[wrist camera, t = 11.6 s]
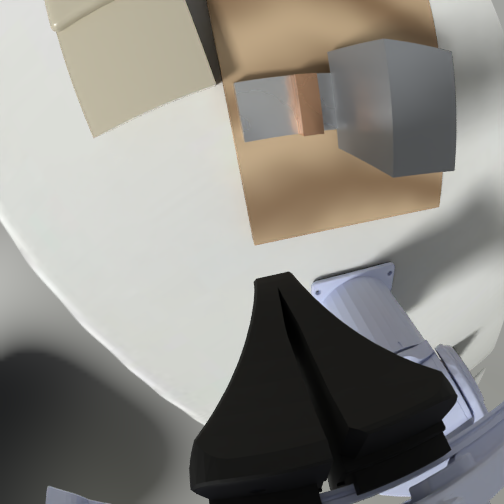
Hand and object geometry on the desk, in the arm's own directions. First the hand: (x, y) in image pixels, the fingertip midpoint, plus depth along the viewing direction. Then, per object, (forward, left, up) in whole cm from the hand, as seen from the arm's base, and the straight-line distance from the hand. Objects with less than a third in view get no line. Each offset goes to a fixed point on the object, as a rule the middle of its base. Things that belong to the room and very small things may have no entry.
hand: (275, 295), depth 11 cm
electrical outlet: (+16, +5, -10) cm, 20 cm away
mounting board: (+6, -8, -10) cm, 14 cm away
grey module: (+6, -8, -8) cm, 13 cm away
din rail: (+6, -8, -9) cm, 13 cm away
